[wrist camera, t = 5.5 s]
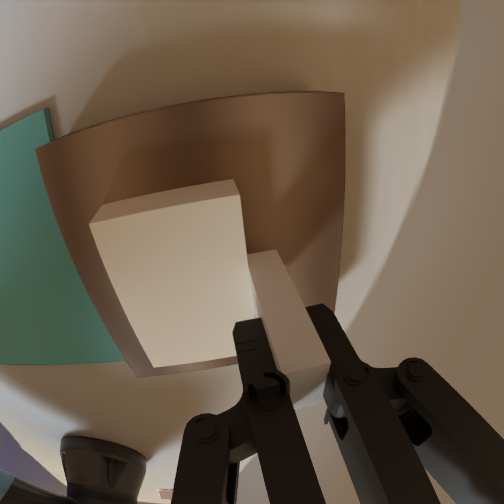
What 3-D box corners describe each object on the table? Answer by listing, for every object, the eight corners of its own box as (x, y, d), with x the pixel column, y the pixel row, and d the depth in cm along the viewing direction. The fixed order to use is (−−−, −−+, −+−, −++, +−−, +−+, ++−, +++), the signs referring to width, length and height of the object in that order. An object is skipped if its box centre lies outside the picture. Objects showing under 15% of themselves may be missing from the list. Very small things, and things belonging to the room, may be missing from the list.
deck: (140, 337, 21) (136, 377, 18) (67, 134, 13) (35, 149, 9) (312, 306, 23) (330, 342, 19) (311, 91, 14) (344, 93, 11)
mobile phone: (186, 492, 51) (186, 500, 59) (186, 488, 52) (185, 497, 59) (156, 490, 50) (160, 499, 57) (156, 487, 50) (160, 496, 57)
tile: (155, 341, 16) (153, 367, 15) (102, 204, 12) (88, 224, 10) (252, 326, 17) (258, 351, 15) (233, 179, 12) (239, 194, 11)
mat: (1, 360, 20) (0, 364, 20) (-87, 194, 10) (-90, 196, 9) (138, 353, 22) (137, 359, 22) (48, 108, 12) (43, 109, 11)
